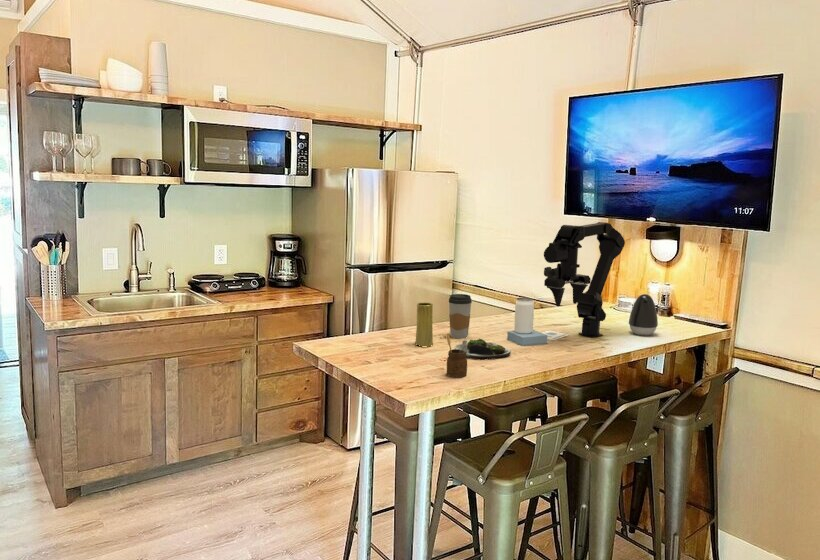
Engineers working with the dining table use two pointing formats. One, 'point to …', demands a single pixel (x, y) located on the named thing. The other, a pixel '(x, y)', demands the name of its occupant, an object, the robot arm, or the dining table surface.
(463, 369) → the utensil holder
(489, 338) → the dining table surface
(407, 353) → the dining table surface
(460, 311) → the coffee cup
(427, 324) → the vase
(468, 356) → the salad plate
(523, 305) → the can
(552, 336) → the page
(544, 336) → the base brick
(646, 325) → the black egg-shaped dome
